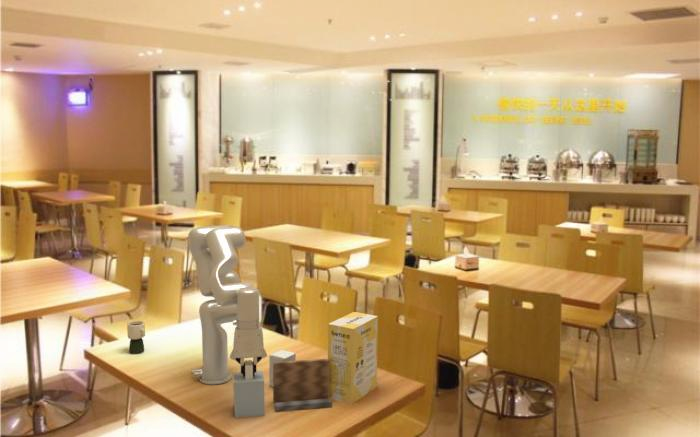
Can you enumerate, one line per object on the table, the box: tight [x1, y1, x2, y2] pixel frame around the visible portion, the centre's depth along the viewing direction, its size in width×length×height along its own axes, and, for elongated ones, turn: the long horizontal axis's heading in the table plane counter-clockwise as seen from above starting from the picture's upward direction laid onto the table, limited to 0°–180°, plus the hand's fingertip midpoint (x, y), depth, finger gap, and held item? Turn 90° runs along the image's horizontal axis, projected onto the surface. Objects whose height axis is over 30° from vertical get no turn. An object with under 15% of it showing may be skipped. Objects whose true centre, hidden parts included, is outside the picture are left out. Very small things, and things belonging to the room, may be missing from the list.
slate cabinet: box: [232, 359, 265, 419], centre depth 222 cm, size 10×9×18 cm
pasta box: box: [327, 311, 379, 405], centre depth 238 cm, size 18×10×28 cm, turn 149°
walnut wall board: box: [272, 358, 333, 413], centre depth 228 cm, size 20×8×15 cm, turn 102°
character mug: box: [126, 320, 146, 354], centre depth 277 cm, size 11×7×13 cm, turn 58°
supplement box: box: [268, 349, 297, 388], centre depth 245 cm, size 7×7×13 cm
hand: (248, 374), depth 221 cm, fingers closed on slate cabinet, 2 cm apart
